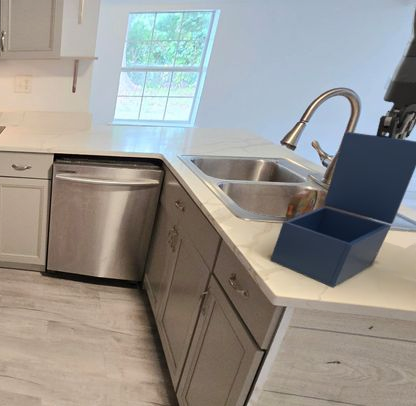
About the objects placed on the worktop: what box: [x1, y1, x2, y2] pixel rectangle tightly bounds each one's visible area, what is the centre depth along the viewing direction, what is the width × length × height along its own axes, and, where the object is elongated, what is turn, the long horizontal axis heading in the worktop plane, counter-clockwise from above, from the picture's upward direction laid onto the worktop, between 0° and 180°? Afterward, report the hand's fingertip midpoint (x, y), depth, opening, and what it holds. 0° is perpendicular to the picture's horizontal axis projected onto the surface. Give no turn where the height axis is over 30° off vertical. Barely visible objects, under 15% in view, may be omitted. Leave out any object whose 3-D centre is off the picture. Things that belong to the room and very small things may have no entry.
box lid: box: [323, 131, 416, 225], centre depth 85 cm, size 20×13×6 cm
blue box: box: [269, 205, 392, 288], centre depth 87 cm, size 19×13×11 cm
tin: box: [285, 188, 319, 221], centre depth 110 cm, size 15×3×8 cm, turn 122°
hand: (383, 157), depth 84 cm, fingers open, 3 cm apart
